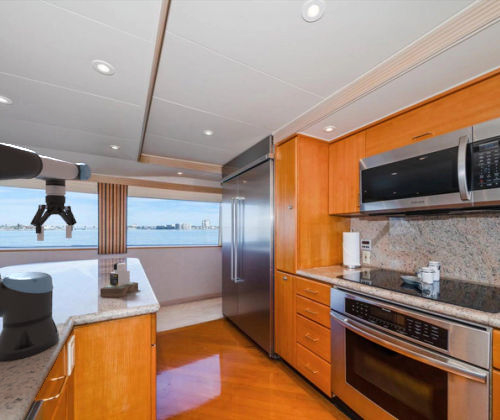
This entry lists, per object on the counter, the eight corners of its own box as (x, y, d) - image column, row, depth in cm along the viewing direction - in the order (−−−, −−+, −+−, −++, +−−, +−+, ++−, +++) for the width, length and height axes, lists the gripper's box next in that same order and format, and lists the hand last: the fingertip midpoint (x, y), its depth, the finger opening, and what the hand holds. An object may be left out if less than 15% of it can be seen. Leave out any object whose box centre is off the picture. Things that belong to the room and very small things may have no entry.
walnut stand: (121, 297, 123) (121, 288, 123) (100, 296, 125) (100, 287, 125) (138, 289, 136) (138, 281, 136) (118, 288, 138) (118, 281, 138)
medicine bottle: (109, 285, 129) (109, 263, 130) (121, 282, 136) (121, 261, 136) (117, 286, 126) (117, 264, 126) (130, 283, 132) (129, 262, 133)
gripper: (72, 197, 127) (72, 237, 126) (19, 193, 102) (19, 242, 101) (84, 197, 125) (84, 237, 125) (34, 192, 101) (33, 241, 100)
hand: (55, 239), depth 113 cm, fingers open, 13 cm apart
